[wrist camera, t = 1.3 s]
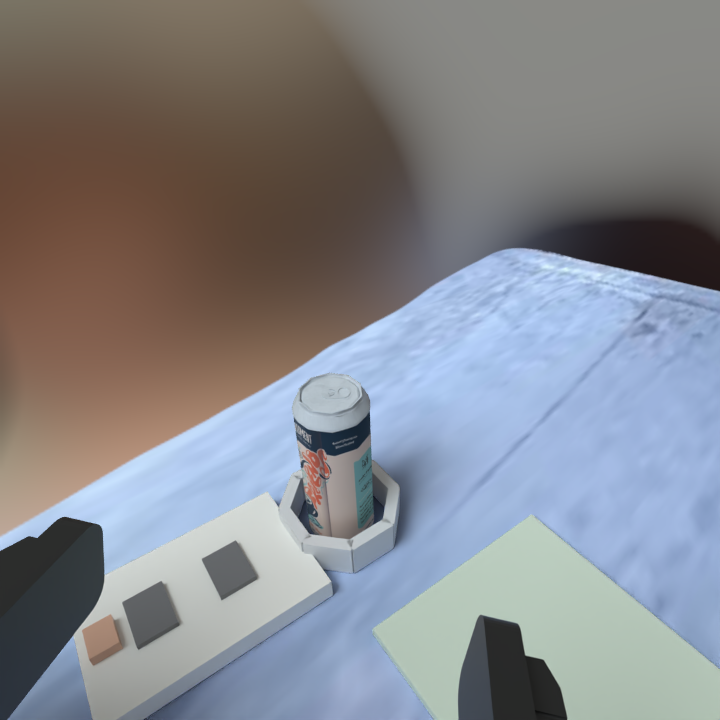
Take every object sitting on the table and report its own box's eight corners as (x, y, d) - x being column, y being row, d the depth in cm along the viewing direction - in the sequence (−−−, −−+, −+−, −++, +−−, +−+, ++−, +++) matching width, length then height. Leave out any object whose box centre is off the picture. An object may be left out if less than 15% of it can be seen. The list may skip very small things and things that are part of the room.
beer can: (309, 498, 40) (291, 371, 33) (371, 492, 40) (366, 366, 33) (309, 552, 36) (288, 421, 29) (377, 546, 36) (373, 415, 29)
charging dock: (353, 460, 43) (351, 438, 41) (424, 535, 37) (425, 512, 35) (73, 609, 33) (58, 586, 32) (104, 744, 27) (88, 724, 25)
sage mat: (530, 519, 37) (531, 514, 37) (738, 693, 28) (743, 688, 27) (372, 634, 31) (372, 628, 31) (571, 911, 21) (574, 907, 21)
